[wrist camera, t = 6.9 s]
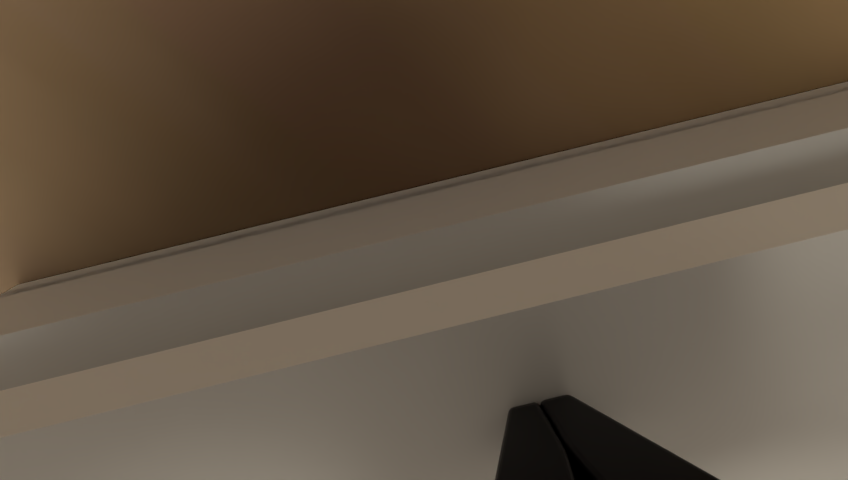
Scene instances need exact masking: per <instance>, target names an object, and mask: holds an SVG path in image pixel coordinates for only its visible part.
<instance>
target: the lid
mask: <svg viewBox="0 0 848 480" xmlns="http://www.w3.org/2000/svg"><path fill="white" fill-rule="evenodd" d="M562 395H571V396H573V397H575V398H577V399H578V400H580V401H582V402H584V403H586V404H587V405H589V406H591V407H593V408H594V409H596V410H598V411H600V412H601V413H603V414H605V415H607V416H609V417H610V418H612V419H614V420H616V421H617V422H619V423H621V424H623V425H624V426H626V427H628V428H630V429H632V430H633V431H635V432H637V433H639V434H640V435H642V436H644V437H646V438H647V439H649V440H651V441H653V442H655V443H656V444H658V445H660V446H662V447H663V448H665V449H667V450H669V451H670V452H672V453H674V454H676V455H678V456H679V457H681V458H683V459H685V460H686V461H688V462H690V463H692V464H693V465H695V466H697V467H699V468H701V469H702V470H704V471H706V472H708V473H709V474H711V475H713V476H715V477H716V478H718V479H720V480H848V183H844V184H840V185H836V186H832V187H828V188H824V189H820V190H816V191H812V192H808V193H804V194H799V195H795V196H791V197H787V198H783V199H779V200H775V201H771V202H767V203H763V204H759V205H755V206H751V207H747V208H742V209H738V210H734V211H730V212H726V213H722V214H718V215H714V216H710V217H706V218H702V219H698V220H694V221H690V222H685V223H681V224H677V225H673V226H669V227H665V228H661V229H657V230H653V231H649V232H645V233H641V234H637V235H633V236H628V237H624V238H620V239H616V240H612V241H608V242H604V243H600V244H596V245H592V246H588V247H584V248H580V249H576V250H571V251H567V252H563V253H559V254H555V255H551V256H547V257H543V258H539V259H535V260H531V261H527V262H523V263H519V264H514V265H510V266H506V267H502V268H498V269H494V270H490V271H486V272H482V273H478V274H474V275H470V276H466V277H462V278H457V279H453V280H449V281H445V282H441V283H437V284H433V285H429V286H425V287H421V288H417V289H413V290H409V291H405V292H400V293H396V294H392V295H388V296H384V297H380V298H376V299H372V300H368V301H364V302H360V303H356V304H352V305H348V306H343V307H339V308H335V309H331V310H327V311H323V312H319V313H315V314H311V315H307V316H303V317H299V318H295V319H291V320H286V321H282V322H278V323H274V324H270V325H266V326H262V327H258V328H254V329H250V330H246V331H242V332H238V333H234V334H229V335H225V336H221V337H217V338H213V339H209V340H205V341H201V342H197V343H193V344H189V345H185V346H181V347H177V348H173V349H168V350H164V351H160V352H156V353H152V354H148V355H144V356H140V357H136V358H132V359H128V360H124V361H120V362H116V363H111V364H107V365H103V366H99V367H95V368H91V369H87V370H83V371H79V372H75V373H71V374H67V375H63V376H59V377H54V378H50V379H46V380H42V381H38V382H34V383H30V384H26V385H22V386H18V387H14V388H10V389H6V390H2V391H0V480H495V476H496V471H497V466H498V461H499V456H500V451H501V446H502V441H503V436H504V431H505V426H506V421H507V416H508V412H509V410H510V409H511V408H512V407H516V406H520V405H525V404H529V403H533V402H535V403H538V404H539V405H540V404H541V402H542V401H543V400H545V399H550V398H554V397H558V396H562Z"/></svg>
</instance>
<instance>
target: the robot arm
mask: <svg viewBox="0 0 848 480" xmlns="http://www.w3.org/2000/svg"><path fill="white" fill-rule="evenodd" d="M495 480H720V479H718V478H716V477H715V476H713V475H711V474H709V473H708V472H706V471H704V470H702V469H701V468H699V467H697V466H695V465H693V464H692V463H690V462H688V461H686V460H685V459H683V458H681V457H679V456H678V455H676V454H674V453H672V452H670V451H669V450H667V449H665V448H663V447H662V446H660V445H658V444H656V443H655V442H653V441H651V440H649V439H647V438H646V437H644V436H642V435H640V434H639V433H637V432H635V431H633V430H632V429H630V428H628V427H626V426H624V425H623V424H621V423H619V422H617V421H616V420H614V419H612V418H610V417H609V416H607V415H605V414H603V413H601V412H600V411H598V410H596V409H594V408H593V407H591V406H589V405H587V404H586V403H584V402H582V401H580V400H578V399H577V398H575V397H573V396H571V395H562V396H558V397H554V398H550V399H545V400H543V401H542V402H541V404H540V405H539V404H538V403H535V402H533V403H529V404H525V405H520V406H516V407H512V408H511V409H510V410H509V412H508V416H507V421H506V426H505V431H504V436H503V441H502V446H501V451H500V456H499V461H498V466H497V471H496V476H495Z"/></svg>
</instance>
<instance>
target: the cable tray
mask: <svg viewBox="0 0 848 480" xmlns="http://www.w3.org/2000/svg"><path fill="white" fill-rule="evenodd" d="M844 183H848V82H844V83H839V84H835V85H831V86H827V87H823V88H819V89H815V90H811V91H807V92H803V93H799V94H795V95H790V96H786V97H782V98H778V99H774V100H770V101H766V102H762V103H758V104H754V105H750V106H746V107H741V108H737V109H733V110H729V111H725V112H721V113H717V114H713V115H709V116H705V117H701V118H697V119H692V120H688V121H684V122H680V123H676V124H672V125H668V126H664V127H660V128H656V129H652V130H648V131H643V132H639V133H635V134H631V135H627V136H623V137H619V138H615V139H611V140H607V141H603V142H599V143H594V144H590V145H586V146H582V147H578V148H574V149H570V150H566V151H562V152H558V153H554V154H549V155H545V156H541V157H537V158H533V159H529V160H525V161H521V162H517V163H513V164H509V165H505V166H500V167H496V168H492V169H488V170H484V171H480V172H476V173H472V174H468V175H464V176H460V177H456V178H451V179H447V180H443V181H439V182H435V183H431V184H427V185H423V186H419V187H415V188H411V189H407V190H402V191H398V192H394V193H390V194H386V195H382V196H378V197H374V198H370V199H366V200H362V201H358V202H353V203H349V204H345V205H341V206H337V207H333V208H329V209H325V210H321V211H317V212H313V213H309V214H304V215H300V216H296V217H292V218H288V219H284V220H280V221H276V222H272V223H268V224H264V225H260V226H255V227H251V228H247V229H243V230H239V231H235V232H231V233H227V234H223V235H219V236H215V237H211V238H206V239H202V240H198V241H194V242H190V243H186V244H182V245H178V246H174V247H170V248H166V249H162V250H157V251H153V252H149V253H145V254H141V255H137V256H133V257H129V258H125V259H121V260H117V261H113V262H108V263H104V264H100V265H96V266H92V267H88V268H84V269H80V270H76V271H72V272H68V273H64V274H59V275H55V276H51V277H47V278H43V279H39V280H35V281H31V282H27V283H23V284H19V285H16V286H15V287H13V288H11V289H9V290H8V291H6V292H4V293H3V294H1V295H0V391H2V390H6V389H10V388H14V387H18V386H22V385H26V384H30V383H34V382H38V381H42V380H46V379H50V378H54V377H59V376H63V375H67V374H71V373H75V372H79V371H83V370H87V369H91V368H95V367H99V366H103V365H107V364H111V363H116V362H120V361H124V360H128V359H132V358H136V357H140V356H144V355H148V354H152V353H156V352H160V351H164V350H168V349H173V348H177V347H181V346H185V345H189V344H193V343H197V342H201V341H205V340H209V339H213V338H217V337H221V336H225V335H229V334H234V333H238V332H242V331H246V330H250V329H254V328H258V327H262V326H266V325H270V324H274V323H278V322H282V321H286V320H291V319H295V318H299V317H303V316H307V315H311V314H315V313H319V312H323V311H327V310H331V309H335V308H339V307H343V306H348V305H352V304H356V303H360V302H364V301H368V300H372V299H376V298H380V297H384V296H388V295H392V294H396V293H400V292H405V291H409V290H413V289H417V288H421V287H425V286H429V285H433V284H437V283H441V282H445V281H449V280H453V279H457V278H462V277H466V276H470V275H474V274H478V273H482V272H486V271H490V270H494V269H498V268H502V267H506V266H510V265H514V264H519V263H523V262H527V261H531V260H535V259H539V258H543V257H547V256H551V255H555V254H559V253H563V252H567V251H571V250H576V249H580V248H584V247H588V246H592V245H596V244H600V243H604V242H608V241H612V240H616V239H620V238H624V237H628V236H633V235H637V234H641V233H645V232H649V231H653V230H657V229H661V228H665V227H669V226H673V225H677V224H681V223H685V222H690V221H694V220H698V219H702V218H706V217H710V216H714V215H718V214H722V213H726V212H730V211H734V210H738V209H742V208H747V207H751V206H755V205H759V204H763V203H767V202H771V201H775V200H779V199H783V198H787V197H791V196H795V195H799V194H804V193H808V192H812V191H816V190H820V189H824V188H828V187H832V186H836V185H840V184H844Z"/></svg>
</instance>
